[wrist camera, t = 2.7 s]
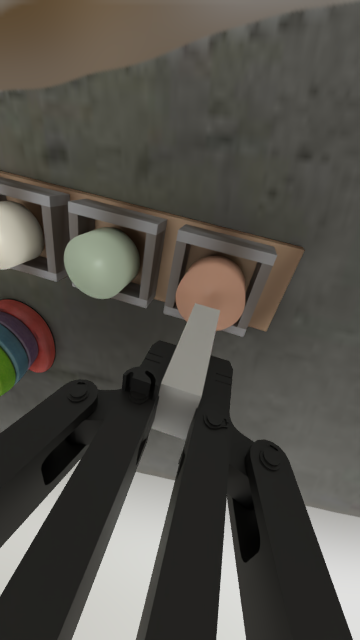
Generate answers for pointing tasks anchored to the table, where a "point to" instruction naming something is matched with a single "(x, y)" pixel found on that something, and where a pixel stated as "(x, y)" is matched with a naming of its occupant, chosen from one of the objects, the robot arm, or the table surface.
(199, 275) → the terracotta button
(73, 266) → the sage button
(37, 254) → the ivory button
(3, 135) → the table surface
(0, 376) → the stacking bear
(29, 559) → the robot arm
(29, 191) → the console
